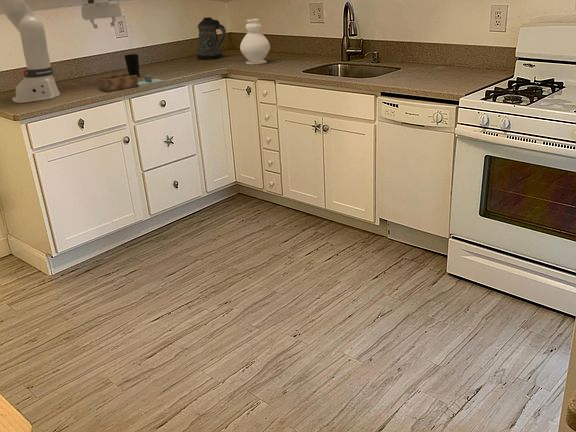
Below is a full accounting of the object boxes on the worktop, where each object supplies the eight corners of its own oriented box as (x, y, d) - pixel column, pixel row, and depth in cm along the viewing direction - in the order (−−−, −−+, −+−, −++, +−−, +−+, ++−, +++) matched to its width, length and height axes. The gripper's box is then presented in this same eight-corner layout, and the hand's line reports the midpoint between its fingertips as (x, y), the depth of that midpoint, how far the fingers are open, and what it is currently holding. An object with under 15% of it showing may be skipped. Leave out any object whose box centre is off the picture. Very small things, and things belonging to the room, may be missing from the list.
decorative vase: (270, 64, 352) (267, 20, 342) (240, 65, 352) (236, 21, 342) (271, 59, 368) (268, 17, 358) (242, 60, 369) (239, 18, 359)
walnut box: (107, 92, 300) (105, 80, 297) (99, 89, 308) (97, 77, 305) (138, 86, 309) (136, 75, 307) (129, 84, 317) (127, 72, 315)
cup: (127, 78, 333) (123, 56, 328) (127, 76, 340) (124, 54, 335) (141, 77, 334) (138, 55, 329) (141, 75, 341) (138, 53, 336)
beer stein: (195, 57, 392) (190, 17, 382) (224, 54, 397) (220, 15, 386) (199, 61, 377) (195, 19, 367) (229, 58, 382) (225, 17, 372)
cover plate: (140, 87, 311) (138, 79, 309) (133, 85, 317) (132, 77, 315) (164, 82, 319) (163, 74, 317) (157, 80, 325) (156, 73, 323)
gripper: (116, -3, 313) (120, 24, 318) (78, 0, 302) (83, 29, 307) (121, -3, 308) (125, 25, 314) (82, 1, 297) (87, 29, 303)
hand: (104, 27), depth 310 cm, fingers open, 8 cm apart
